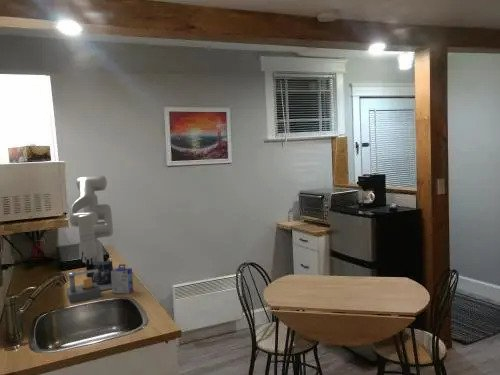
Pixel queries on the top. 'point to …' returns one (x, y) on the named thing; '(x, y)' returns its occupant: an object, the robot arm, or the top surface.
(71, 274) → the clip
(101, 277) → the small box
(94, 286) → the socket block
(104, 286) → the pad
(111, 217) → the robot arm
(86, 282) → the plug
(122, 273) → the ink cartridge box
